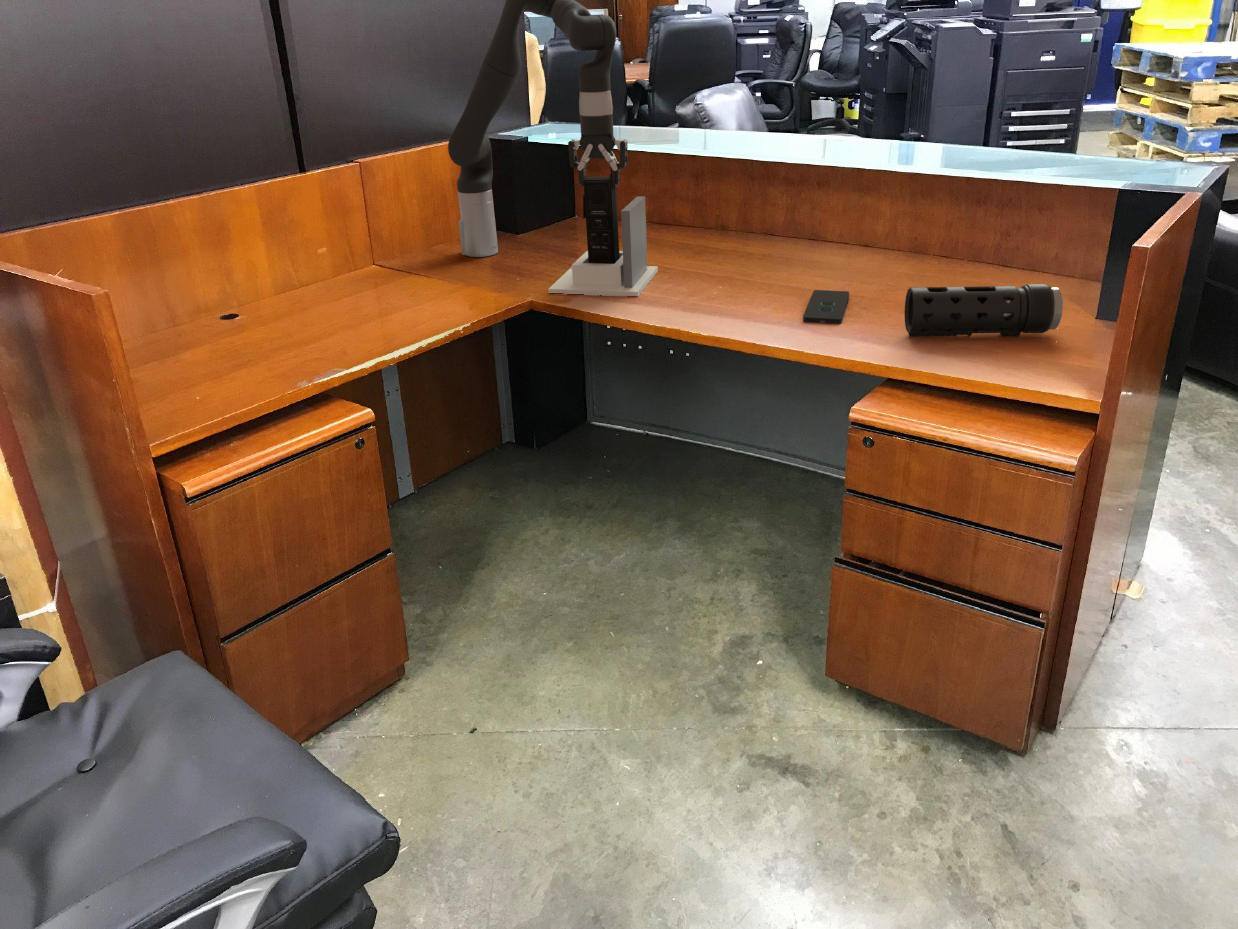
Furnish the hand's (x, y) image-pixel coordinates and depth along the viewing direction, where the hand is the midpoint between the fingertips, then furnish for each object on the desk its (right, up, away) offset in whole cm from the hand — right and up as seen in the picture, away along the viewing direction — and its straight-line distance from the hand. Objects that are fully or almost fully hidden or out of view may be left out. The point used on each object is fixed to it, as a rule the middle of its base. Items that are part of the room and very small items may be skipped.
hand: (599, 186), depth 226 cm
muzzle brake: (+76, -40, -35) cm, 93 cm away
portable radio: (+1, -19, +10) cm, 21 cm away
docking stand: (+1, -21, +10) cm, 23 cm away
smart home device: (+50, -32, -15) cm, 61 cm away
